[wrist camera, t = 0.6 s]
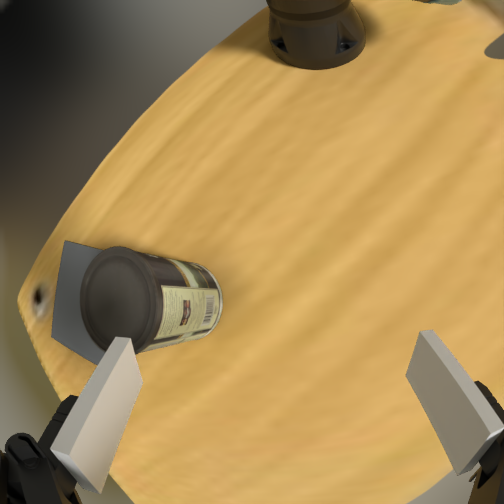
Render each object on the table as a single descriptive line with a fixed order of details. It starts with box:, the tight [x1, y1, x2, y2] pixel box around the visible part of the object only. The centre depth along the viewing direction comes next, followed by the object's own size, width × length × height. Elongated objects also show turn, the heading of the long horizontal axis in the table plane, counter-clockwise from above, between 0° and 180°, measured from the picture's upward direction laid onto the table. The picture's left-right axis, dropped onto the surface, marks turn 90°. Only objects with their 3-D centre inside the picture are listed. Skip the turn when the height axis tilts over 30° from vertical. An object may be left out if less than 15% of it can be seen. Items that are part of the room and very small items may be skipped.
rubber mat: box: [51, 241, 105, 365], centre depth 44 cm, size 18×18×1 cm
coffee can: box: [80, 247, 223, 355], centre depth 32 cm, size 10×10×14 cm
